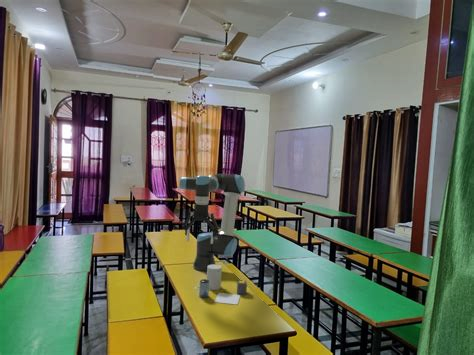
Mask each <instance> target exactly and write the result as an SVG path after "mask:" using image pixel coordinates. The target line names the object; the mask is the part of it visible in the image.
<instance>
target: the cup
mask: <svg viewBox="0 0 474 355" xmlns="http://www.w3.org/2000/svg"><path fill="white" fill-rule="evenodd" d="M222 268H223V267H222V265H220V264H216V265H215V264H212V265H208V266H207V271H206V280H209V291H217V290H219V289H221V286H222Z"/></svg>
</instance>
